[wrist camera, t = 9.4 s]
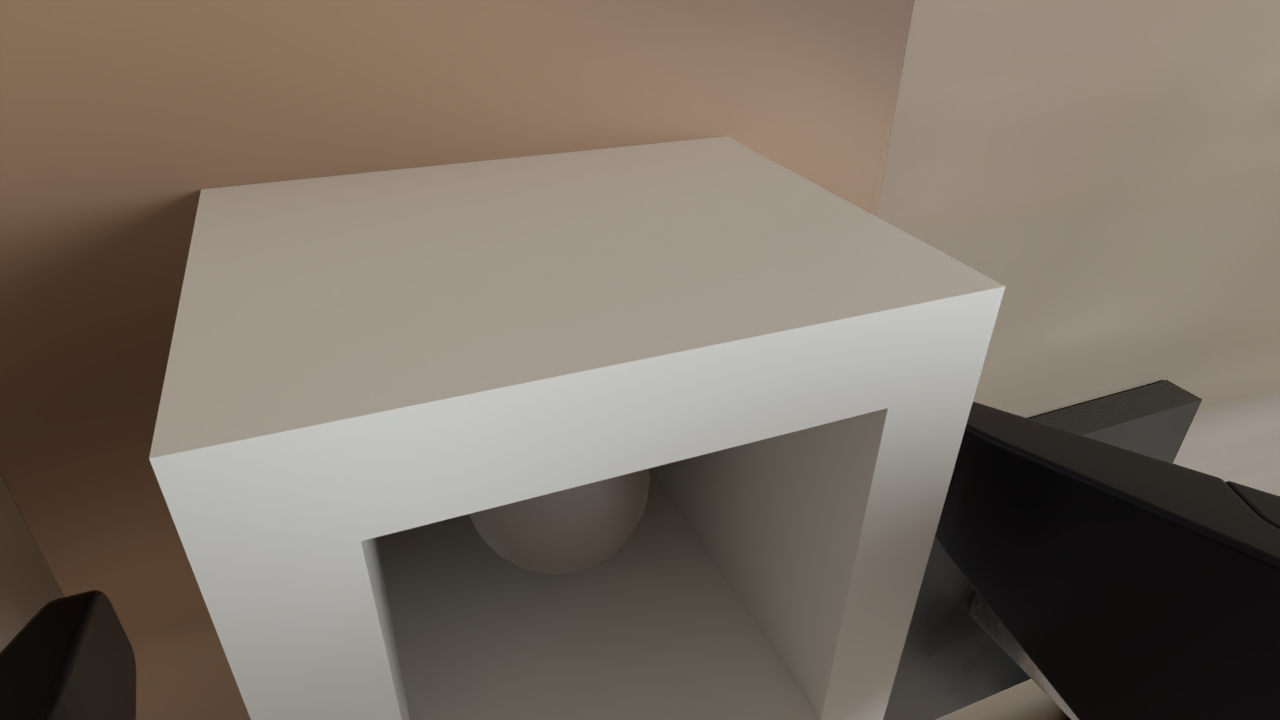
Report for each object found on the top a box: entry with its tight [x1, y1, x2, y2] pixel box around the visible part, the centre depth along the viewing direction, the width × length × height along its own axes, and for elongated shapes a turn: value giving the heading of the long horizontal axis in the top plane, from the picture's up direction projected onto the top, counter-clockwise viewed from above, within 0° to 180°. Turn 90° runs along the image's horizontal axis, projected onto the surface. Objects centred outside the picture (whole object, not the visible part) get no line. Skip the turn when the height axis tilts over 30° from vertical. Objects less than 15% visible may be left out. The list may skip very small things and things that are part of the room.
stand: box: [883, 380, 1202, 720], centre depth 20 cm, size 10×10×4 cm
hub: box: [0, 0, 915, 720], centre depth 10 cm, size 12×12×5 cm
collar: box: [149, 136, 1005, 720], centre depth 9 cm, size 6×6×5 cm
